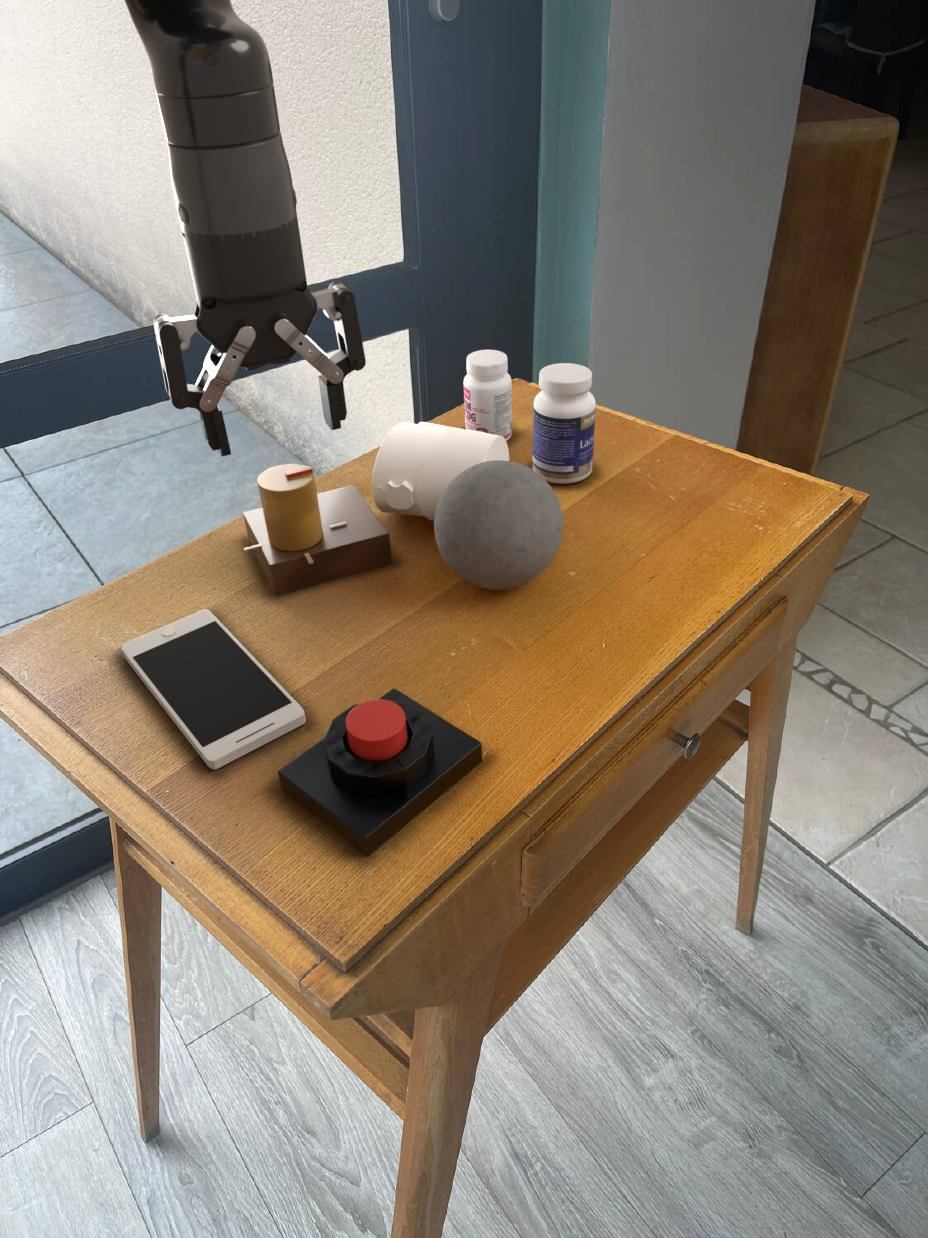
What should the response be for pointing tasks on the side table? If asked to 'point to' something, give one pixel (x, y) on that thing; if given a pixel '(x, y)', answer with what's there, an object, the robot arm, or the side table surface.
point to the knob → (290, 507)
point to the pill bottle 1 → (488, 393)
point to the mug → (427, 464)
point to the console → (324, 544)
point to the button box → (380, 776)
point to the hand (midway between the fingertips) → (279, 438)
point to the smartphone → (212, 688)
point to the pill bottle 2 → (564, 424)
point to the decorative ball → (498, 525)
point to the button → (376, 730)
